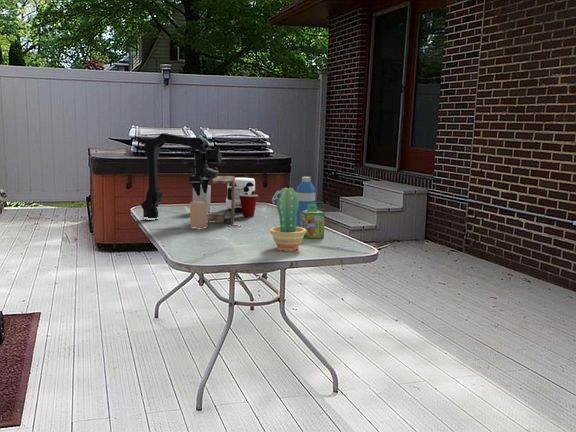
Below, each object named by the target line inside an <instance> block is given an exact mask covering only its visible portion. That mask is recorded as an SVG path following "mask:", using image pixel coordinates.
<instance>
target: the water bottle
mask: <svg viewBox="0 0 576 432" xmlns="http://www.w3.org/2000/svg"><path fill="white" fill-rule="evenodd" d="M295 192H296V194H297V195H298V197H299V205H298V210H297V213H296V227H300V211H301V210H307V204H316V192H317V191H316V188H315V186H314V184H313V182H312V181H311V176H302V177H301V182H300V183H299V184H298V185H297V186H296V191H295ZM310 209H312V210H313V209H314V207H313V206H311V207H310Z"/></svg>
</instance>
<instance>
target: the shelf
mask: <svg viewBox="0 0 576 432" xmlns="http://www.w3.org/2000/svg"><path fill="white" fill-rule="evenodd" d="M235 176H236V175H217V178H212V180H211V184H223V185H224V184H225V185H226V184H227V185H228V184H231V210H230V213H231V218H230V219H231V220H230V221H231V223H230V225H232V226H234V225H235V223H234V222H235V216H236V214H235V213H236V211H235V178H236V177H235ZM225 214H226V213H225V212H221V213H208V214H207V221H215V222H214V223H225V220H224V219H226V215H225Z"/></svg>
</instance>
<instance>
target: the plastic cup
mask: <svg viewBox="0 0 576 432" xmlns="http://www.w3.org/2000/svg"><path fill="white" fill-rule="evenodd" d="M239 197H240V201H241V208H242V211H241V213H242V217H243V216H244V218H253V217H254V216H255V211H256V207H257V201H258V197H259V195H258V194H255V195H249V194H241V195H239Z"/></svg>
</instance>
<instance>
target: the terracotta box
mask: <svg viewBox="0 0 576 432" xmlns="http://www.w3.org/2000/svg"><path fill="white" fill-rule="evenodd" d="M189 208H190V209H189V210H190V211H189V212H190V213H189V215H190V216H189V217H190V218H189V222H190V223H189V224H190V226H191V227H196V228H204V227H207V228H208V222H207V202H204V201H194V202H193V201H190V202H189ZM190 226H189V227H190ZM204 229H205V228H204Z"/></svg>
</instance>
